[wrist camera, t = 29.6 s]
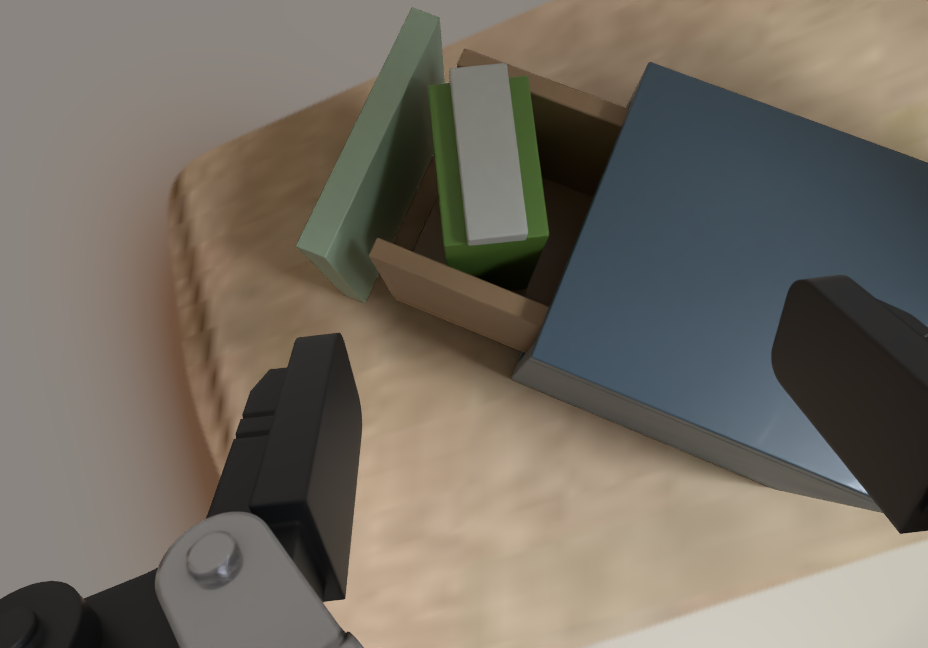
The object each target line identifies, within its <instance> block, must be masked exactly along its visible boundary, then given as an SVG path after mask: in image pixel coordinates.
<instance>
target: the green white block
mask: <svg viewBox="0 0 928 648" xmlns="http://www.w3.org/2000/svg"><path fill="white" fill-rule="evenodd" d="M449 76H450V83H447V84H437V85H429V86H428V95H429V105H430V115H431V125H432V135H433V145H434V155H435V165H436V175H437V185H438V195H439V205H440V215H441V225H442V236H443V245H444V252H445V258H446V265H447V266H450V267H452V268H455V269H457V270H460V271H462V272H465V273H467V274H469V275H472V276H474V277H477V278H479V279H482V280H484V281H487V282H489V283H492V284H494V285H497V286H499V287H502V288H504V289H507V290H509V291H510V290H520V289H526V288H527V287H528V284H529V282H530V280H531V277H532V275H533V272H534V270H535V268H536V265H537V263H538V260H539V258H540V256H541V253H542V251H543V248H544V246H545V244H546V241H547V239H548V236H549V228H548V221H547V213H546V206H545V198H544V191H543V183H542V176H541V168H540V161H539V153H538V146H537V138H536V131H535V123H534V116H533V108H532V101H531V93H530V86H529V78H528V76H517V77H508V69H507V65H506V63H500V64H490V65H480V66H470V67H460V68H451V69H450V71H449Z"/></svg>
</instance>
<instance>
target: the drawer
mask: <svg viewBox="0 0 928 648" xmlns="http://www.w3.org/2000/svg"><path fill="white" fill-rule="evenodd" d="M500 63H503V62H500V61H497V60H495V59H492V58H489V57H487V56H484V55H481V54H479V53H476V52H473V51H470V50H468V49H464V51H463V53H462V55H461V57H460V59H459V61H458V64H457V68H460V67H470V66H480V65H490V64H500ZM506 65H507V69H508V77H517V76H528V78H529V86H530V93H531V101H532V108H533V116H534V123H535V131H536V138H537V146H538V153H539V161H540V168H541V176H542V183H543V191H544V198H545V206H546V213H547V221H548V228H549V236H548V239H547V241H546V244H545V246H544V248H543V251H542V253H541V256H540V258H539V260H538V263H537V265H536V268H535V270H534V272H533V275H532V277H531V280H530V282H529V284H528V287H527V288H526V289H520V290H510V291H509V290H507V289H504V288H502V287H499V286H497V285H494V284H492V283H489V282H487V281H484V280H482V279H479V278H477V277H474V276H472V275H469V274H467V273H465V272H462V271H460V270H457V269H455V268H452V267H450V266H447V265H446V258H445V252H444V245H443V236H442V225H441V215H440V205H439V195H438V196H437V198H436V200H435V203H434V205H433V207H432V209H431V211H430V214H429V216H428V218H427V220H426V223H425V225H424V227H423V229H422V231H421V234H420V236H419V238H418V240H417V243H416V245H415V247H414V249H413V251H410V250H408V249H405V248H403V247H400V246H398V245H395V244H393V241H394V239H395V237H396V235H397V232H398V230H399V228H400V226H401V224H402V222H403V219H404V217H405V215H406V213H407V211H408V208H409V206H410V204H411V202H412V200H413V197H414V195H415V193H416V191H417V189H418V187H419V184H420V182H421V180H422V178H423V176H424V173H425V171H426V169H427V167H428V165H429V162H430V160H431V158H432V156H433V154H434V145H433V135H432V125H431V115H430V105H429V95H428V86H429V85H437V84H445V81H444V68H443V55H442V42H441V30H440V19H439V17H437V16H434V15H431V14H429V13H426V12H423V11H421V10H418V9H415V8H411V10H410V12H409V14H408V16H407V18H406V20H405V22H404V24H403V26H402V28H401V31H400V33H399V35H398V37H397V39H396V41H395V43H394V45H393V47H392V49H391V51H390V53H389V55H388V57H387V59H386V61H385V63H384V66H383V68H382V70H381V72H380V74H379V76H378V78H377V80H376V82H375V84H374V86H373V88H372V90H371V92H370V94H369V96H368V98H367V100H366V102H365V105H364V107H363V109H362V111H361V113H360V115H359V117H358V119H357V121H356V123H355V125H354V127H353V129H352V131H351V133H350V135H349V137H348V139H347V142H346V144H345V146H344V148H343V150H342V152H341V154H340V156H339V158H338V160H337V162H336V164H335V166H334V168H333V170H332V172H331V174H330V176H329V179H328V181H327V183H326V185H325V187H324V189H323V191H322V193H321V195H320V197H319V199H318V201H317V203H316V205H315V207H314V209H313V211H312V213H311V216H310V218H309V220H308V222H307V224H306V226H305V228H304V230H303V232H302V234H301V236H300V238H299V240H298V242H297V244H296V247H297V248H298V249H299V250H300V251H301V252H302V253H303V254H304V255H305V256H306V257H307V258H308V259H309V260H310V261H311V262H312V263H313V264H314V265H315V266H316V267H317V268H318V269H319V270H320V271H321V272H322V273H323V274H324V275H325V276H326V277H327V278H328V279H329V280H330V281H331V282H332V283H333V284H334V285H335V286H336V287H337V288H338V289H339V290H340V291H341V292H342V293H343V294H344V295H346V296H348V297H351V298H353V299H355V300H358V301H360V302H363V303H365V302H366V300H367V298H368V296H369V294H370V291H371V289H372V287H373V285H374V283H375V281H376V278H377V276H378V274H380V275H381V277H382V279H383V280H384V282H385V284H386V285H387V287H388V289H389V290H390V292H391V293H392V295H393V297H394V299H395V300H397V301H400V302H402V303H405V304H407V305H409V306H412V307H414V308H417V309H419V310H422V311H424V312H426V313H429V314H431V315H434V316H436V317H439V318H441V319H443V320H446V321H448V322H451V323H453V324H456V325H458V326H460V327H463V328H465V329H468V330H470V331H473V332H475V333H477V334H480V335H482V336H485V337H487V338H490V339H492V340H494V341H497V342H499V343H502V344H504V345H507V346H509V347H511V348H514V349H516V350H519V351H521V352H524V353H526V352H527V351H528V350H529V348H530V347H531V346H532V344H533V343H534V342H535V341H536V338H537V336H538V333H539V331H540V328H541V326H542V323H543V321H544V318H545V316H546V313H547V311H548V308H549V306H550V304H551V301H552V299H553V296H554V294H555V291H556V289H557V286H558V284H559V281H560V279H561V276H562V274H563V271H564V269H565V266H566V264H567V261H568V259H569V256H570V254H571V251H572V249H573V246H574V244H575V241H576V239H577V236H578V234H579V231H580V229H581V226H582V224H583V221H584V219H585V216H586V214H587V212H588V209H589V207H590V204H591V202H592V199H593V197H594V194H595V192H596V189H597V187H598V184H599V182H600V179H601V177H602V174H603V172H604V169H605V167H606V164H607V162H608V159H609V157H610V154H611V152H612V149H613V147H614V144H615V142H616V139H617V137H618V134H619V132H620V129H621V127H622V125H623V122H624V120H625V117H626V115H627V112H628V110H629V109H627V108H624V107H621V106H619V105H616V104H613V103H611V102H608V101H605V100H603V99H600V98H597V97H594V96H592V95H589V94H586V93H584V92H581V91H578V90H576V89H573V88H570V87H567V86H565V85H562V84H559V83H557V82H554V81H551V80H549V79H546V78H543V77H541V76H538V75H535V74H532V73H530V72H527V71H524V70H522V69H519V68H516V67H514V66H511V65H508V64H506Z"/></svg>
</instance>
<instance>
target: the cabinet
mask: <svg viewBox="0 0 928 648" xmlns="http://www.w3.org/2000/svg"><path fill="white" fill-rule="evenodd" d="M626 108H627V109H629V110H628V112H627V115H626V117H625V120H624V122H623V125H622V127H621V129H620V132H619V134H618V137H617V139H616V142H615V144H614V147H613V149H612V152H611V154H610V157H609V159H608V162H607V164H606V167H605V169H604V172H603V174H602V177H601V179H600V182H599V184H598V187H597V189H596V192H595V194H594V197H593V199H592V202H591V204H590V207H589V209H588V212H587V214H586V216H585V219H584V221H583V224H582V226H581V229H580V231H579V234H578V236H577V239H576V241H575V244H574V246H573V249H572V251H571V254H570V256H569V259H568V261H567V264H566V266H565V269H564V271H563V274H562V276H561V279H560V281H559V284H558V286H557V289H556V291H555V294H554V296H553V299H552V301H551V304H550V306H549V308H548V311H547V313H546V316H545V318H544V321H543V323H542V326H541V328H540V331H539V333H538V336H537V338H536V341H535V342H534V343H533V344H532V346H531V347H530V348H529V350H528V351H527V352H526V353H524V352H521V354H520V356H519V359H518V361H517V364H516V366H515V369H514V371H513V374H512V376H511V379H512V380H514V381H516V382H518V383H521V384H523V385H526V386H528V387H530V388H533V389H535V390H538V391H540V392H542V393H545V394H547V395H550V396H552V397H554V398H557V399H559V400H562V401H564V402H566V403H569V404H571V405H574V406H576V407H578V408H581V409H583V410H586V411H588V412H590V413H593V414H595V415H598V416H600V417H602V418H605V419H607V420H610V421H612V422H614V423H617V424H619V425H622V426H624V427H626V428H629V429H631V430H634V431H636V432H638V433H641V434H643V435H646V436H648V437H650V438H653V439H655V440H658V441H660V442H662V443H665V444H667V445H670V446H672V447H674V448H677V449H679V450H682V451H684V452H686V453H689V454H691V455H694V456H696V457H698V458H701V459H703V460H706V461H708V462H710V463H713V464H715V465H718V466H720V467H722V468H725V469H727V470H730V471H732V472H734V473H737V474H739V475H742V476H744V477H747V478H749V479H751V480H754V481H756V482H759V483H761V484H763V485H766V486H768V487H771V488H773V489H776V490H780V491H785V492H789V493H794V494H799V495H803V496H808V497H812V498H817V499H822V500H826V501H831V502H835V503H840V504H845V505H849V506H854V507H858V508H863V509H868V510H872V511H877V512H881V513H883V512H882V510H881V509H880V508H879V507H878V505H877V504H876V503H875V502H874V500H873V499H872V498H871V497H870V495H869V494H868V493H867V492H866V490H865V489H864V488H863V487H862V485H861V484H860V483H859V482H858V480H857V479H856V478H855V477H854V476H853V474H852V473H851V472H850V471H849V469H848V468H847V467H846V466H845V464H844V463H843V462H842V461H841V459H840V458H839V457H838V456H837V454H836V453H835V452H834V451H833V449H832V448H831V447H830V446H829V444H828V443H827V442H826V441H825V439H824V438H823V437H822V436H821V434H820V433H819V432H818V431H817V429H816V428H815V427H814V426H813V424H812V423H811V422H810V421H809V419H808V418H807V417H806V416H805V414H804V413H803V412H802V411H801V410H800V408H799V407H798V406H797V405H796V403H795V402H794V401H793V400H792V398H791V397H790V396H789V395H788V393H787V392H786V391H785V390H784V388H783V387H782V386H781V385H780V383H779V382H778V380H777V378H776V376H775V374H774V371H773V368H772V362H771V351H772V346H773V343H774V339H775V335H776V332H777V328H778V325H779V321H780V317H781V314H782V310H783V307H784V303H785V299H786V296H787V292H788V290H789V288H790V286H791V285H792V283H793V282H795V281H796V280H800V279H808V278H817V277H825V276H834V275H846V276H848V277H850V278H851V279H853V280H854V281H855V282H856V283H858V284H859V285H860V286H861V287H863V288H864V289H865V290H866V291H868V292H869V293H870V294H871V295H872V296H874V297H875V298H876V299H879V300H881V301H884V302H886V303H888V304H890V305H892V306H894V307H897V308H899V309H901V310H903V311H905V312H908V313H910V314H912V315H913V316H914V317H915V318H917V319H918V320H919V321H921V322H922V323H923V324H924V325H926V326H927V327H928V163H927V162H924V161H921V160H919V159H916V158H913V157H910V156H908V155H905V154H902V153H899V152H897V151H894V150H891V149H888V148H886V147H883V146H880V145H877V144H875V143H872V142H869V141H866V140H864V139H861V138H858V137H855V136H853V135H850V134H847V133H844V132H842V131H839V130H836V129H833V128H831V127H828V126H825V125H822V124H820V123H817V122H814V121H811V120H809V119H806V118H803V117H800V116H798V115H795V114H792V113H789V112H786V111H784V110H781V109H778V108H775V107H773V106H770V105H767V104H764V103H762V102H759V101H756V100H753V99H751V98H748V97H745V96H742V95H740V94H737V93H734V92H731V91H729V90H726V89H723V88H720V87H718V86H715V85H712V84H709V83H707V82H704V81H701V80H698V79H696V78H693V77H690V76H687V75H685V74H682V73H679V72H676V71H674V70H671V69H668V68H665V67H663V66H660V65H657V64H654V63H652V62H649V63H648V65H647V67H646V69H645V71H644V73H643V75H642V77H641V79H640V81H639V83H638V85H637V87H636V89H635V91H634V93H633V95H632V97H631V99H630V101H629V103H628V105H627V107H626Z"/></svg>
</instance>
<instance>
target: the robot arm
mask: <svg viewBox="0 0 928 648" xmlns="http://www.w3.org/2000/svg"><path fill="white" fill-rule="evenodd" d="M771 362H772V368H773V371H774V374H775V376H776V378H777V380H778V382H779V383H780V385H781V386H782V387H783V388H784V390H785V391H786V392H787V393H788V395H789V396H790V397H791V398H792V400H793V401H794V402H795V403H796V405H797V406H798V407H799V408H800V410H801V411H802V412H803V413H804V414H805V416H806V417H807V418H808V419H809V421H810V422H811V423H812V424H813V426H814V427H815V428H816V429H817V431H818V432H819V433H820V434H821V436H822V437H823V438H824V439H825V441H826V442H827V443H828V444H829V446H830V447H831V448H832V449H833V451H834V452H835V453H836V454H837V456H838V457H839V458H840V459H841V461H842V462H843V463H844V464H845V466H846V467H847V468H848V469H849V471H850V472H851V473H852V474H853V476H854V477H855V478H856V479H857V480H858V482H859V483H860V484H861V485H862V487H863V488H864V489H865V490H866V492H867V493H868V494H869V495H870V497H871V498H872V499H873V500H874V502H875V503H876V504H877V505H878V507H879V508H880V509H881V510H882V512H883V513H884V514H885V515H886V517H887V518H888V519H889V520H890V522H891V523H892V524H893V525H894V527H895V528H896V529H897V530H898V532H899V533H900V534H903V533H911V532H920V531H928V327H927V326H926V325H924V324H923V323H922V322H921V321H919V320H918V319H917V318H915V317H914V316H913V315H912V314H910V313H908V312H905V311H903V310H901V309H899V308H897V307H894V306H892V305H890V304H888V303H886V302H884V301H881V300H879V299H876V298H875V297H874V296H872V295H871V294H870V293H869V292H868V291H866V290H865V289H864V288H863V287H861V286H860V285H859V284H858V283H856V282H855V281H854V280H853V279H851V278H850V277H848V276H846V275H834V276H825V277H817V278H808V279H800V280H796V281H795V282H793V283H792V285H791V286H790V288H789V290H788V292H787V296H786V299H785V303H784V307H783V310H782V314H781V317H780V321H779V325H778V328H777V332H776V335H775V339H774V343H773V346H772V351H771ZM242 415H243V419H241V420H240V423H239V426H238V429H237V432H236V439H234V440H233V443H232V446H231V449H230V452H229V455H228V457H227V460H226V463H225V466H224V469H223V472H222V475H221V478H220V480H219V483H218V486H217V489H216V492H215V495H214V498H213V501H212V503H211V506H210V509H209V512H208V515H207V517H206V519H205V520H203V521H201V522H199V523H197V524H196V525H194V526H193V527H191V528H190V529H188V530H187V531H186V532H184V533H183V534H182V535H181V536H180V537H179V538H178V539H177V540H176V541H175V542H174V543H173V544H172V545H171V547H170V548H169V549H168V551H167V552H166V553H165V555H164V557H163V559H162V560H161V562H160V564H159V567H158V568H156V569H155V570H152V571H150V572H148V573H146V574H144V575H141V576H139V577H137V578H134V579H132V580H129V581H126V582H124V583H122V584H119V585H117V586H114V587H112V588H109V589H107V590H104V591H102V592H99V593H97V594H94V595H92V596H89V597H87V598H84V599H83V598H82V597H81V596H80V594H79V593H78V592H77V591H76V590H75V589H74V588H73V587H72V586H70V585H68V584H66V583H63V582H57V581H48V582H40V583H36V584H32V585H29V586H26V587H24V588H21V589H18V590H16V591H15V592H12V593H10V594H8V595H7V596H5V597H3V598H2V599H0V648H364V647H363V646H362V645H361V644H360V642H359V641H358V640H357V639H356V638H355V637H354V636H353V635H352V634H351V633H350V632H347V633H346V632H344V631H343V629H342V628H341V627H340V626H339V625H338V623H337V622H336V620H335V619H334V618H333V616H332V615H331V613H330V612H329V611H328V609H327V608H326V606H325V605H324V604H323V602H325V601H334V600H342V599H345V595H346V585H347V575H348V565H349V555H350V545H351V535H352V525H353V515H354V505H355V495H356V485H357V475H358V465H359V455H360V445H361V435H362V413H361V405H360V399H359V395H358V391H357V387H356V384H355V380H354V376H353V372H352V369H351V365H350V361H349V357H348V354H347V350H346V346H345V343H344V340H343V337H342V335H341V334H340V333H332V334H324V335H316V336H307V337H299V338H297V339H296V340H295V343H294V346H293V349H292V353H291V356H290V360H289V364H288V367H287V368H279V369H270V370H269V371H268V372H267V373H266V374H265V375H264V376H263V378H262V379H261V380H260V381H259V382H258V383H257V384H256V386H255V387H254V388H253V389H252V390H251V391H250V394H249V397H248V400H247V403H246V406H245V409H244V411H243V414H242Z"/></svg>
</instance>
